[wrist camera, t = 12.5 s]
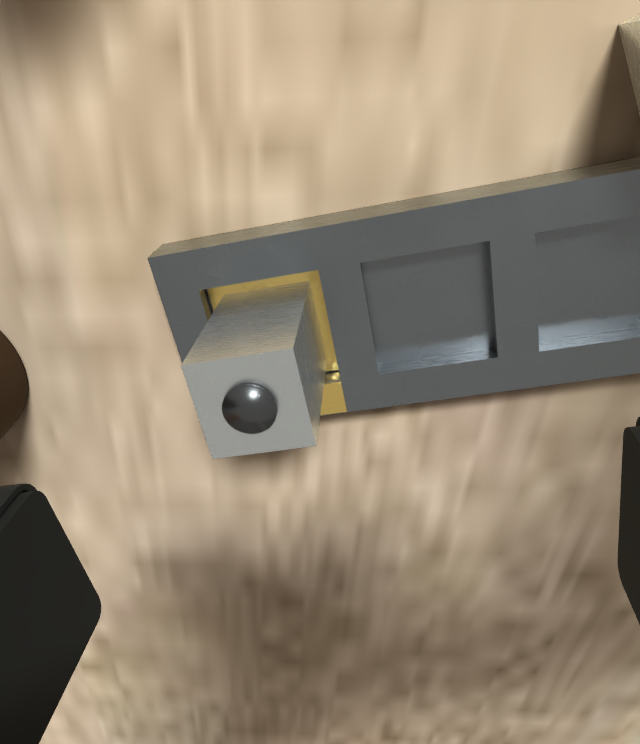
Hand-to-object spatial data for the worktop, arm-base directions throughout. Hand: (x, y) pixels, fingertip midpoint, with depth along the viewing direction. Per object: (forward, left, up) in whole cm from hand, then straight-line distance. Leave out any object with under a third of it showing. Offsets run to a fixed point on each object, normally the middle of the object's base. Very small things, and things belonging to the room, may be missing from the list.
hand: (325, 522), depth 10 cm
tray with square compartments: (-3, +5, -22) cm, 23 cm away
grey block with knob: (+5, +5, -21) cm, 22 cm away
